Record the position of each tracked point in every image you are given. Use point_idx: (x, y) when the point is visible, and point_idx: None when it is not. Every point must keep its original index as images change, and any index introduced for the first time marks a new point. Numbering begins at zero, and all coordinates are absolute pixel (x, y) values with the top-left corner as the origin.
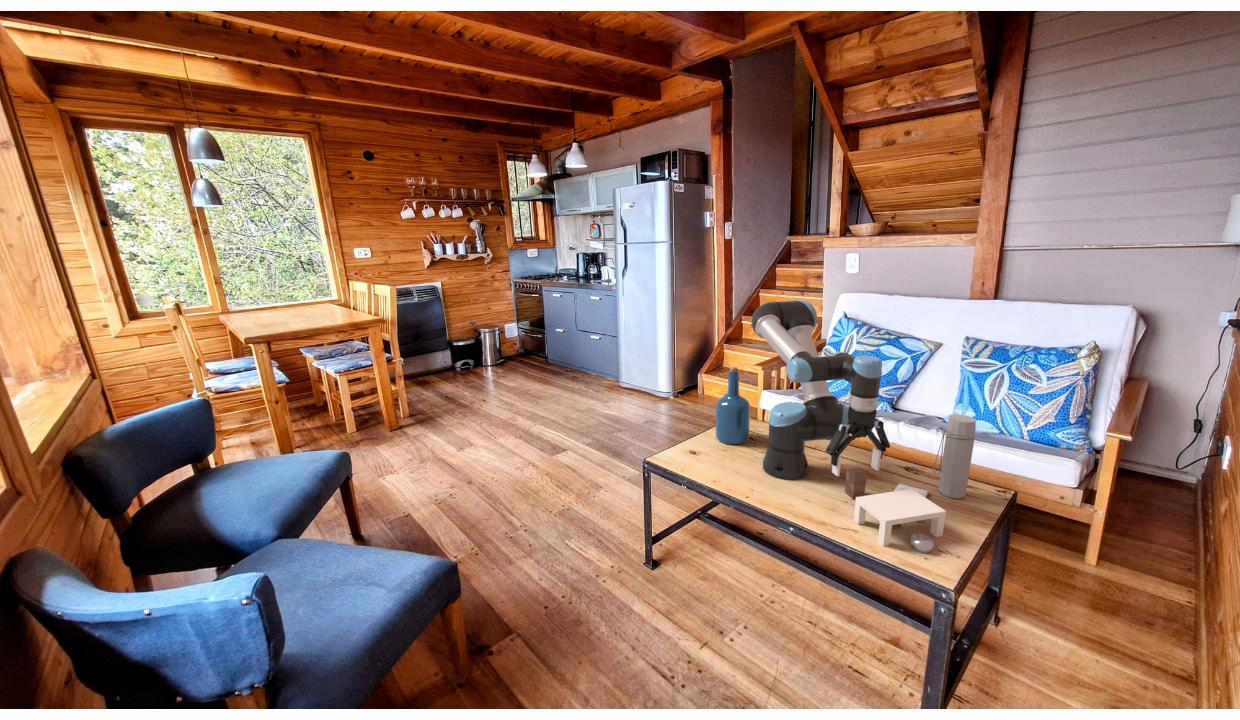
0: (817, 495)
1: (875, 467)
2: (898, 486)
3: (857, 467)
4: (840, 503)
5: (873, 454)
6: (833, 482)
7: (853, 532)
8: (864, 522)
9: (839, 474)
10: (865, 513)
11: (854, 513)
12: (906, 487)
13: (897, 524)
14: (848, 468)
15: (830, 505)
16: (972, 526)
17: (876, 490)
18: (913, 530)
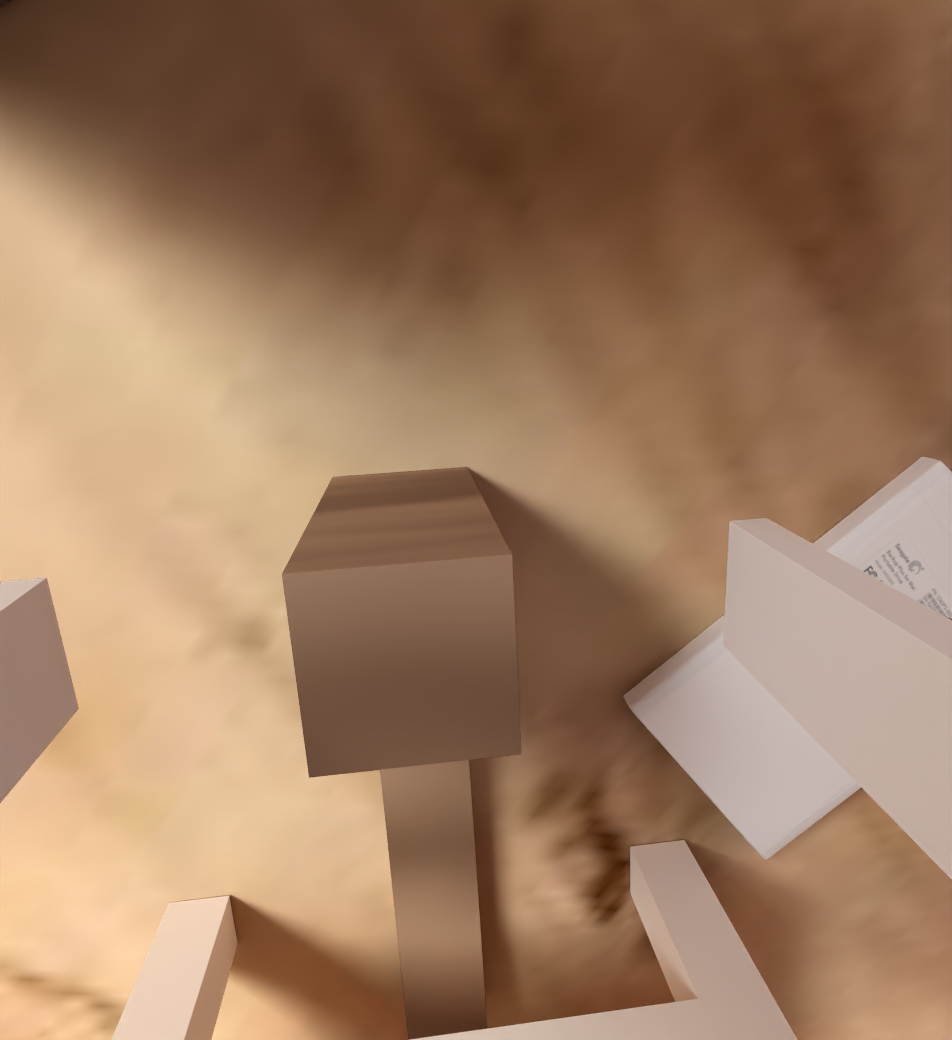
0: (7, 478)
1: (740, 628)
2: (894, 517)
3: (448, 624)
4: (186, 654)
5: (872, 639)
6: (324, 240)
7: (88, 1028)
8: (234, 951)
9: (66, 722)
10: (211, 1033)
11: (145, 962)
12: (947, 548)
13: (454, 1027)
14: (290, 611)
15: None
16: (942, 1021)
17: (668, 494)
18: None
